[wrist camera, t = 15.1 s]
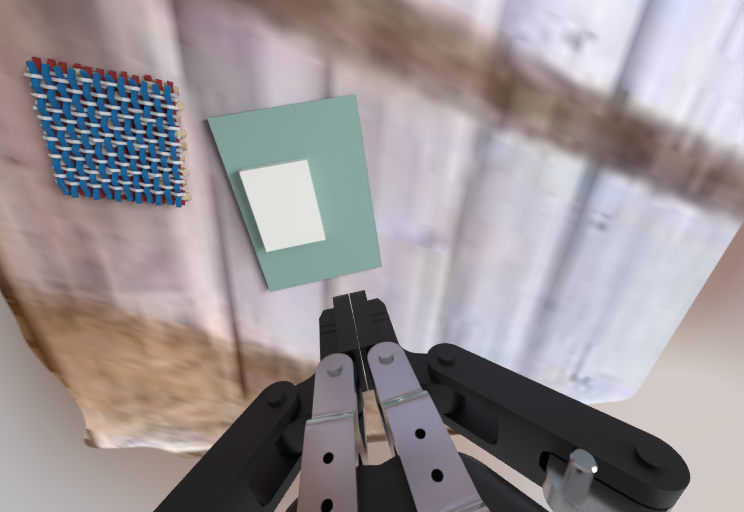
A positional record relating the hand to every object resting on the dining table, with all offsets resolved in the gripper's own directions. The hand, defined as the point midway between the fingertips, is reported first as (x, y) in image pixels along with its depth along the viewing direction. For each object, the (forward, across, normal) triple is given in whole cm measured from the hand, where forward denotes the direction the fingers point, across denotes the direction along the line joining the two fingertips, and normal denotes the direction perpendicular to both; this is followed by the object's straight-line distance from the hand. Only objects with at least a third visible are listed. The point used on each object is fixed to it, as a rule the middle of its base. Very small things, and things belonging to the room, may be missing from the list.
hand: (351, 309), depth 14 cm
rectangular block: (+18, +4, +4) cm, 19 cm away
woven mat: (+20, +16, -8) cm, 27 cm away
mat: (+20, +2, 0) cm, 20 cm away
